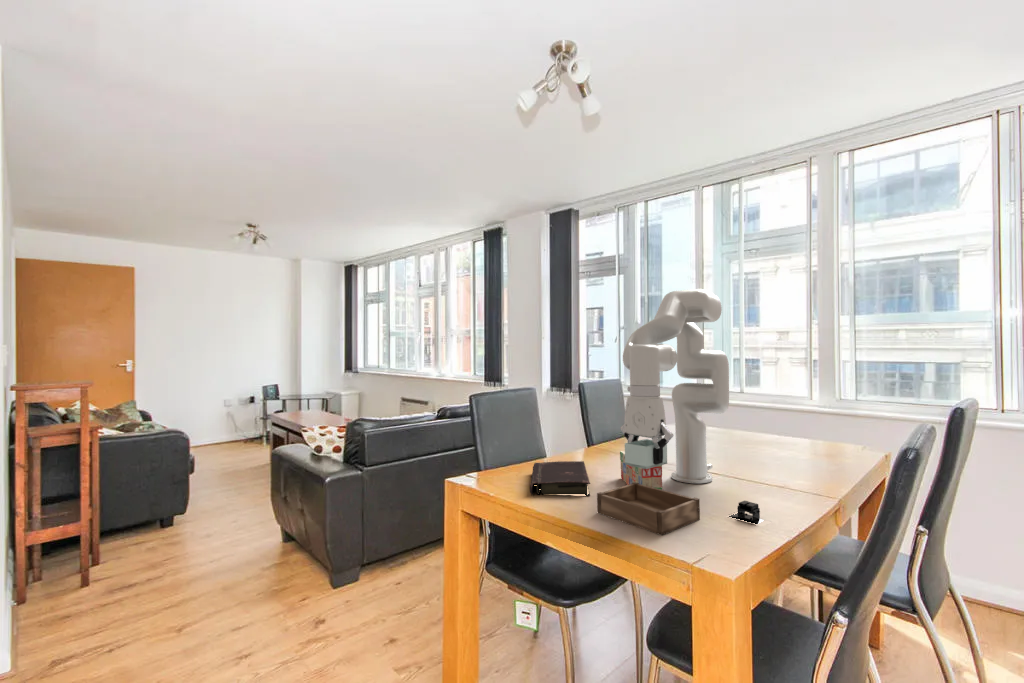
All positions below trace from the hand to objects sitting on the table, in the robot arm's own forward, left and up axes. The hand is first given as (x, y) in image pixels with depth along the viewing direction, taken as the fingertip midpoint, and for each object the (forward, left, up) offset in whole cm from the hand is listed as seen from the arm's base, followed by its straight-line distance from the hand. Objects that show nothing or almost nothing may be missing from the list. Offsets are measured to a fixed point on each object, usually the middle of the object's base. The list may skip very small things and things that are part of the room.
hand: (646, 460), depth 124 cm
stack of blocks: (-20, -17, -15) cm, 30 cm away
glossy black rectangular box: (-18, +18, -15) cm, 29 cm away
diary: (-3, -36, -15) cm, 39 cm away
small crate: (0, 0, -1) cm, 1 cm away
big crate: (0, 0, -14) cm, 14 cm away
